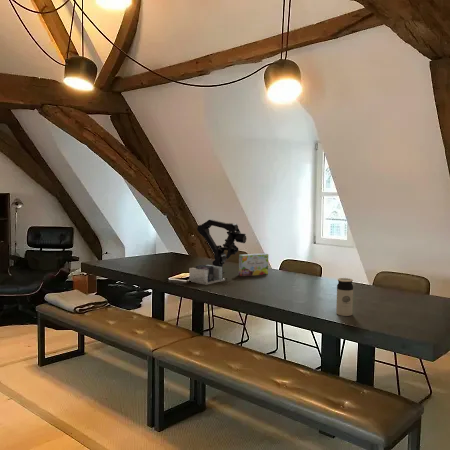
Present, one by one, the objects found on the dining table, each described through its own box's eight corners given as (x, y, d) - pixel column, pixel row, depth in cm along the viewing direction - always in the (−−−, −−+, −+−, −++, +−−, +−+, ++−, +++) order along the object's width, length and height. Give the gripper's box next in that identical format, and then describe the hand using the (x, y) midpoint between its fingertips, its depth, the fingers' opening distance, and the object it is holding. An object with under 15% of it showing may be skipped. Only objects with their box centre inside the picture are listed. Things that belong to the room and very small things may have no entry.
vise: (207, 277, 348) (207, 264, 347) (225, 280, 337) (225, 267, 336) (187, 281, 334) (187, 267, 333) (206, 284, 323) (206, 271, 322)
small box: (195, 281, 334) (195, 265, 333) (200, 279, 340) (200, 264, 339) (208, 283, 329) (208, 267, 328) (213, 281, 334) (213, 265, 333)
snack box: (241, 276, 351) (242, 255, 350) (238, 275, 356) (238, 254, 355) (268, 274, 360) (268, 253, 358) (264, 273, 365) (264, 252, 363)
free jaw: (208, 277, 346) (208, 264, 345) (222, 279, 338) (222, 267, 337) (204, 278, 344) (204, 265, 343) (218, 280, 335) (218, 267, 334)
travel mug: (336, 311, 259) (337, 277, 257) (352, 312, 257) (353, 278, 255) (335, 315, 251) (336, 280, 250) (352, 316, 249) (353, 281, 248)
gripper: (246, 246, 353) (238, 264, 346) (228, 246, 366) (220, 265, 359) (237, 237, 347) (228, 256, 340) (218, 238, 360) (210, 256, 353)
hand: (222, 258), depth 348 cm, fingers open, 9 cm apart
